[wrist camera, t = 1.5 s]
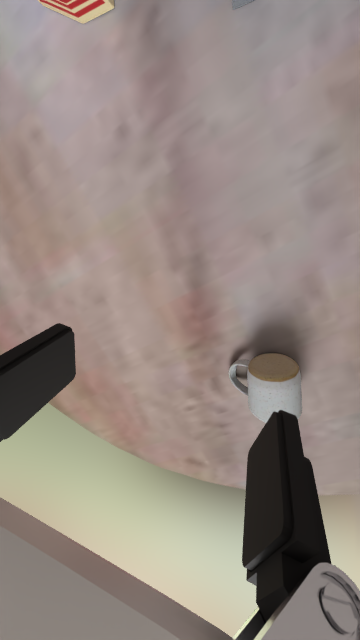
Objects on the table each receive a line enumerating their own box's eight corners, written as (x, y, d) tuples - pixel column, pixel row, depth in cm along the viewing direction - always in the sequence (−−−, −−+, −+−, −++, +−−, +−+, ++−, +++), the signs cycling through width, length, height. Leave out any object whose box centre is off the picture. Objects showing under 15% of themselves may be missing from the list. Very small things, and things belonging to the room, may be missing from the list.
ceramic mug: (297, 349, 34) (305, 382, 27) (298, 391, 37) (305, 430, 30) (227, 349, 38) (219, 379, 31) (233, 388, 41) (227, 422, 34)
